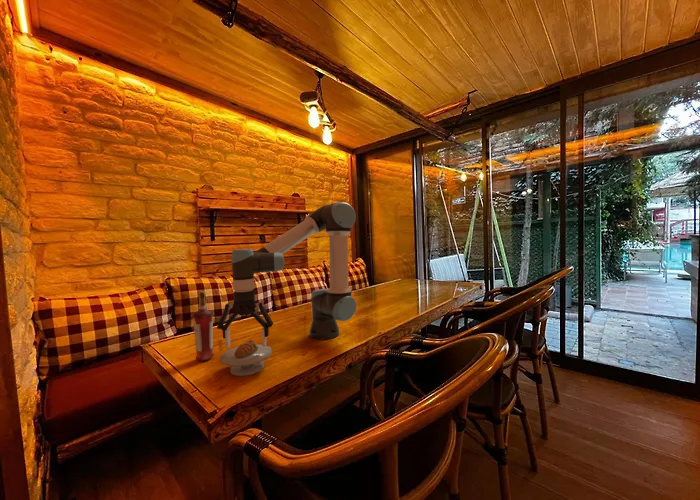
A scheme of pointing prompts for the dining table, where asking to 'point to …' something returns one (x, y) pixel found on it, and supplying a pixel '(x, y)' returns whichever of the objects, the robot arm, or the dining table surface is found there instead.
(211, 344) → the ketchup bottle
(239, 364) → the cake stand
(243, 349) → the pastry
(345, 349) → the dining table surface
